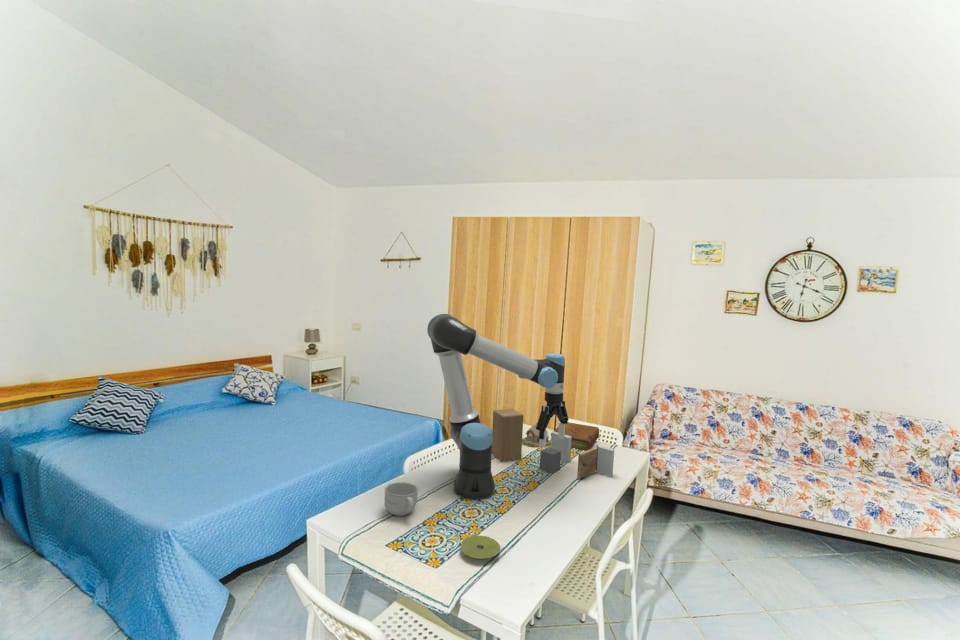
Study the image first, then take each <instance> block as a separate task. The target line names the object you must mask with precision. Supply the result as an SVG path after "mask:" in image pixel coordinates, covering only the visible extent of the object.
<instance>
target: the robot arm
mask: <svg viewBox="0 0 960 640" xmlns="http://www.w3.org/2000/svg"><path fill="white" fill-rule="evenodd" d="M426 330H427V335H428V336H429V338H430V342H431V346H432V350H433V353H434V354H435V355H437V356H438V359H439V363H440V367H441V372H442V376H443V379H444V380H443V381H444V384H445V390H446V394H447V398H448V403H449V406H450V412H451V414H450V416H449V419H448V420H449V425H450V435H451V438H452V441H453V442H454V443H455V444H456V446H457V448H458V450H459V465H458V466H459V468H458V471H457V474H456V478H455V480H454V481H453V492H454V493H455V494H456V495H457V496H458V497H461V498H463V497H464V499H467V498H468V499H467V500H484V499H487V498H490V497H492V496H493V495H494V494H495V492H496V483H495V481H494V477H493V473H492V459H493V457H492V456H493V455H492V442H493V436H492V429H491V428H490V427H489V426H488V425H487V424H483V423H481V419H480V416H479V415H480V414H479V411H477V410H475V409H474V406H473V401H472V397H471V391H470V389H469V388H470V387H469V383H468V379H467V373H466V370H465V365H464V360H463V355H464V356H467V355H470V356H471V355H472V356H473V357H475V358H478V359H481V360H483V361H485V362H488V363H490V364H491V365H495V366H496V367H499V368H502V370H506V371H508V372H511V373H513V374H515V375H517V376H518V378H519V379H521V380H522V379H524V380H528V381H531V382H532V383H535V384H538V385H539V386H541V387H542V388H544V390H545V392H544V401H545V402H546V405H542V406H541V411H540V414H539V417H538V420H537V422H538V423H537V422H536V423H537V426H536V430H539V446H538V447H541V448H547V445H546V431H545V430H547V427H548V425H549V423H550V420H552V418H553V416H555V415H556V417H557V419H558V421H559V422H558V426H557V427H558V438H560V439H564V436H565V424H567V423H568V422H569V416H568V412H567V406H566V401H565V400H564V391H565V390H564V388H565V386H564V383H565V372H566V371H565V370H566V369H565V368H566V358H565V356H564V355H563V354H561V353H548V354H546V357H545V358H544V359H543V358H542V359H533V358H532V357H528V356H526V355H525V354H521V353H519V352H518V351H515V350H513V349H511V348H509V347H507V346H506V345H505V346H504V345H502V344H500V343H498V342H496V341H493V340H491V339H489V338H488V337H484V335H480V334H479V333H478V331H477V330H475V328H472V327H470V326H468V325H466V324H465V323H463V322H462V321H461V320H459V319H458V318H456V317H454V316H453V315H451V314H448V313H440V314H436V315H435V316H433V317H432V318H431V319H430V320H429V322H428V324H427V329H426ZM462 354H463V355H462Z"/></svg>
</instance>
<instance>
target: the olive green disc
mask: <svg viewBox="0 0 960 640" xmlns="http://www.w3.org/2000/svg"><path fill="white" fill-rule="evenodd" d="M460 550H461V551H462V553H463V554H464V555H465V556H468V557H470V558H473V559H490V558H491V557H495V556H497V555H498V554H499V553H500V551H501V545H500V544H499V542H498V541H497V540H496V539H494V538H493V537H490V536H486V535H472V536H468V537H466V538H465V539H464V540H462V541H461V543H460Z"/></svg>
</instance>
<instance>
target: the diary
mask: <svg viewBox="0 0 960 640" xmlns="http://www.w3.org/2000/svg"><path fill="white" fill-rule="evenodd" d="M552 432H557V433H558V426H557V427H556V428H555V429H554V430H553V431H552ZM565 435H568V436H571V437H572V440H571V449H572V448H575V449H574V450H577V449H579V450H578V451H583V450H584V451H587V450H589V449H592V448H593V447H594V445H595V443H596V442H597V440H598V438H599V437H600V428H599V427H597V426H592V425H586V424H581V423H577V422H576V423H575V422H569V421H568V423H567V424H565ZM549 445H551V442H550V444H549ZM584 451H583V452H584Z"/></svg>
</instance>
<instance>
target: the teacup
mask: <svg viewBox="0 0 960 640" xmlns="http://www.w3.org/2000/svg"><path fill="white" fill-rule="evenodd" d="M418 493H419V487H418V486H417V485H416V484H413V483H412V482H406V481H399V482H398V481H395V482H391V483H389V484H387V485H386V486H385V487H384V507H385V509H386V510H387V511H388V512H389V513H390V514H392V515H393V516H399V517H401V516H407V515H408V514H410V513H412V512H413V511H414V510H415V508H416V506H417V502H418Z"/></svg>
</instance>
